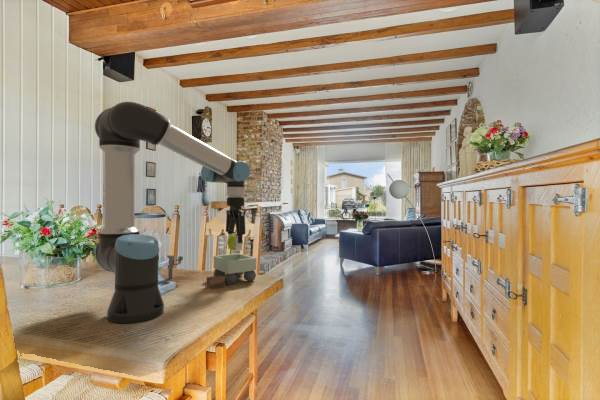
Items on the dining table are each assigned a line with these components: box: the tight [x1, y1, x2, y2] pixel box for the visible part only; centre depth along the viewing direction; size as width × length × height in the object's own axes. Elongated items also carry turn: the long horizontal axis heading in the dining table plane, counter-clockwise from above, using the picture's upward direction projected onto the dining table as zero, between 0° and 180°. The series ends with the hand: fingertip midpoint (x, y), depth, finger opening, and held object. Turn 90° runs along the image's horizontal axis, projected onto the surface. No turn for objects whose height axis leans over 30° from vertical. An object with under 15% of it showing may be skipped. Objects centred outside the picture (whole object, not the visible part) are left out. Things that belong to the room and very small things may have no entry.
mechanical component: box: [166, 254, 184, 280], centre depth 141 cm, size 3×10×10 cm, turn 89°
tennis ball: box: [226, 234, 244, 251], centre depth 140 cm, size 7×7×7 cm
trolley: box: [213, 253, 257, 285], centre depth 140 cm, size 15×14×10 cm
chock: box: [206, 275, 226, 290], centre depth 129 cm, size 4×6×4 cm, turn 130°
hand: (235, 249), depth 140 cm, fingers closed on tennis ball, 7 cm apart
